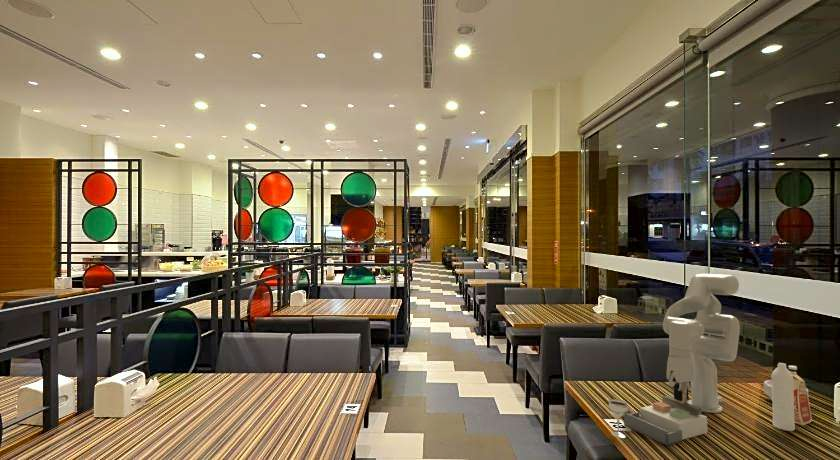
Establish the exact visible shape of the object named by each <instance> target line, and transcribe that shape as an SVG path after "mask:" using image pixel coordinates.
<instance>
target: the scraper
mask: <svg viewBox="0 0 840 460" xmlns="http://www.w3.org/2000/svg"><path fill="white" fill-rule="evenodd" d="M677 385H678V384H677ZM681 391H682V393H683V401H679V400H676V399H674V397H671V396H669V395H662V402H663V403H666V404H668V405H671V406H673V407H676V408H679V409H682V410H684V411H687V412H689V413H692V414H694V415H697V416H698V415H703V414H702V411H701V408H700V407H697V406H694V405H692V404H689V403H687V402H688V400H687V382H684V383H681Z"/></svg>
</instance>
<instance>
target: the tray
mask: <svg viewBox="0 0 840 460" xmlns="http://www.w3.org/2000/svg"><path fill="white" fill-rule="evenodd" d="M624 425H625V427H626V428H628V429H631V430H633V431H635V432H637V433H639V434H641V435H643V436H646V437H648V438H650V439H652V440H654V441H656V442H658V443H660V444H662V445H664V446H667V447H668V446H672V445H676V444H679V443H682V442H683V440H682V430H678V431H674V432H670V433H668V431H666V430H664V429H662V428H659V427H657V426H655V425H653V424H650V423H648V422H646V421H644V420H641V418H640V412H639V411H637V412H631V413H627V414H626V415H625V416H623V426H624Z"/></svg>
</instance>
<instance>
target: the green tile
mask: <svg viewBox="0 0 840 460" xmlns="http://www.w3.org/2000/svg"><path fill="white" fill-rule="evenodd" d="M669 415H671V416H673V417H676V418H678V419H685V418H689V412H687V411H684V410H682V409H679V408H674V409H670V410H669Z"/></svg>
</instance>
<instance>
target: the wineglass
mask: <svg viewBox="0 0 840 460" xmlns="http://www.w3.org/2000/svg"><path fill="white" fill-rule="evenodd" d="M628 405H629V403H628V402H627V401H625V400H622V399H619V398H617V399H616V398H611V399H608V410H609V412H610V414H612V415H613V416H615V417H616V418H617V419H616V420H617V421H616V422H617V431H611V433H610V434H611V435H612V436H613V437H616V438H618V439H619V438H623V439H624V438H626V437H627V436H626V434H625V433H623V432H620V418H622V417H623V418H624V416H625V415H626V414H627V413H628V412H629V407H628ZM628 414H629V413H628Z"/></svg>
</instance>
